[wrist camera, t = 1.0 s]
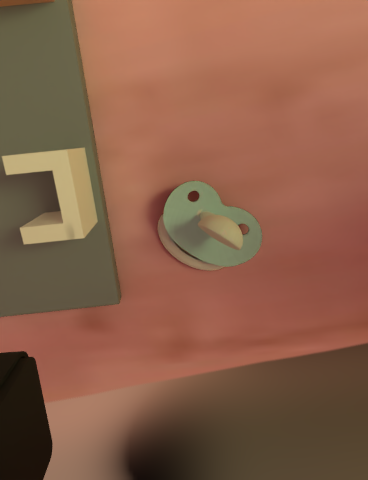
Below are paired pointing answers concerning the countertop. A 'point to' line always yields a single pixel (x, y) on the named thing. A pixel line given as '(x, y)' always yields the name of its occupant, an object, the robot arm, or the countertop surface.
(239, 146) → the countertop surface
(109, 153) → the countertop surface
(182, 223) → the pacifier
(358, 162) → the countertop surface
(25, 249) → the board
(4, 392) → the robot arm
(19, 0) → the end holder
